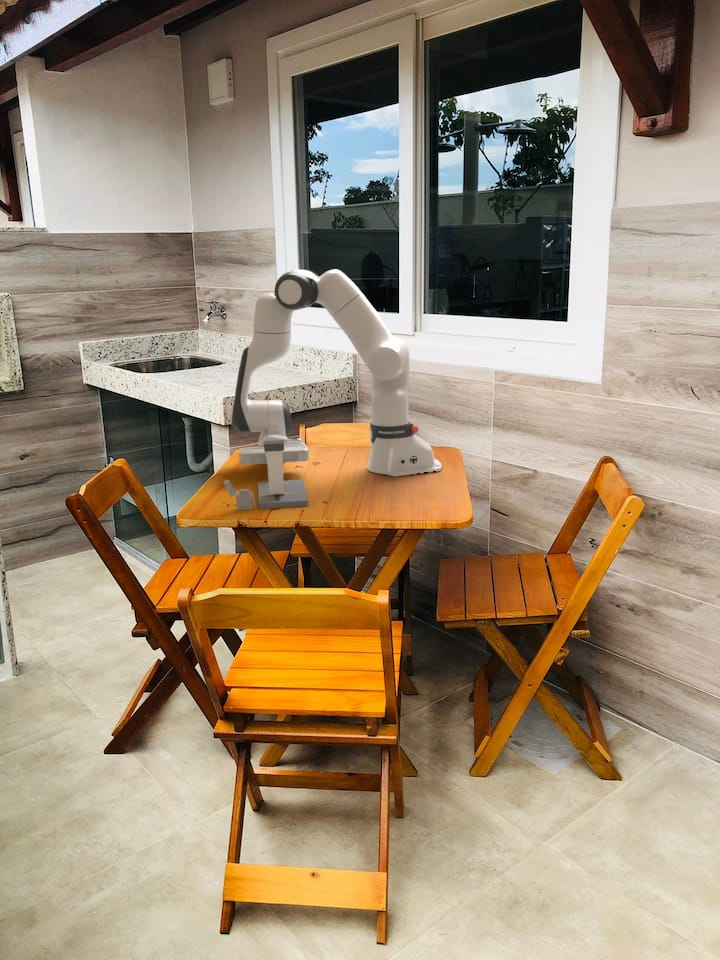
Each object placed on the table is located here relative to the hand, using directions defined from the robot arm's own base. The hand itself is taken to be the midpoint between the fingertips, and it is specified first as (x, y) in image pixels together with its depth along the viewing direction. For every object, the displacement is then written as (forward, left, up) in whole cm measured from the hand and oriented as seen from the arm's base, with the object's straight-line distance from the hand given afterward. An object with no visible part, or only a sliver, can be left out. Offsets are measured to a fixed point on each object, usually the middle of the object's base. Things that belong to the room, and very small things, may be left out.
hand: (274, 461), depth 225 cm
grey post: (0, +14, -5) cm, 14 cm away
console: (-1, +11, -7) cm, 13 cm away
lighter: (+10, +20, -7) cm, 23 cm away
